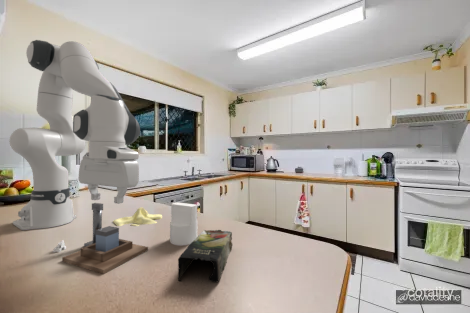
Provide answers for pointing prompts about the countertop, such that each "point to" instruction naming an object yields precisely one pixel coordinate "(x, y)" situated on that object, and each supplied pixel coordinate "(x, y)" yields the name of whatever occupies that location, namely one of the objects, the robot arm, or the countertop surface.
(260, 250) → the countertop surface
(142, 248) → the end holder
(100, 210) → the post
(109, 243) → the grey banded block
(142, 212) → the cloth
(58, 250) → the white irregular angular piece
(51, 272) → the countertop surface
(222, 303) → the countertop surface
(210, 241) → the juice carton
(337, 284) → the countertop surface
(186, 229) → the cylinder with rectangular tab
